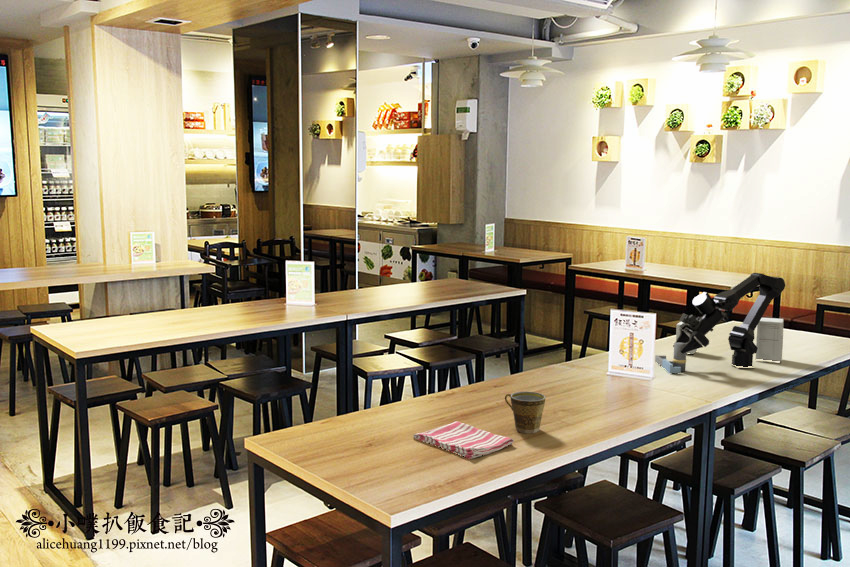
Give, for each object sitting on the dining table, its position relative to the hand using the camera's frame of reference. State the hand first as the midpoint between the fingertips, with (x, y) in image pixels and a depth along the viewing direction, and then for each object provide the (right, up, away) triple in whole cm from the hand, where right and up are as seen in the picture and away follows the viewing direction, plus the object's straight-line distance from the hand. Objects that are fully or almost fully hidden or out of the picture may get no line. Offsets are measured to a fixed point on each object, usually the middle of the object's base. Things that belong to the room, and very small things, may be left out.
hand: (677, 349), depth 288 cm
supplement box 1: (+14, -4, +32) cm, 35 cm away
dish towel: (-86, -19, -79) cm, 118 cm away
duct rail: (-2, -7, +6) cm, 10 cm away
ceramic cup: (-68, -17, -68) cm, 97 cm away
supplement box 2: (+43, -6, +18) cm, 47 cm away
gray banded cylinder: (+1, -8, +1) cm, 8 cm away
